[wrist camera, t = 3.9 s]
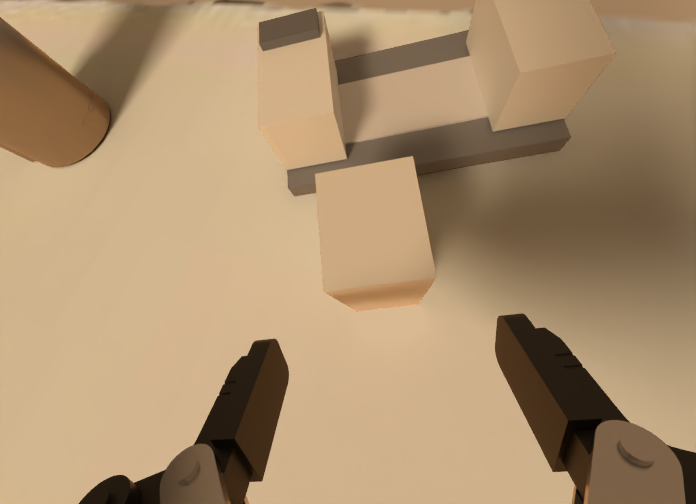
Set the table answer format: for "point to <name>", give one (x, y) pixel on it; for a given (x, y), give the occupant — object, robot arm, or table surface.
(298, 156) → the board
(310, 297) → the table surface
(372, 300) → the block
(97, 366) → the table surface
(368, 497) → the table surface
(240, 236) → the table surface
